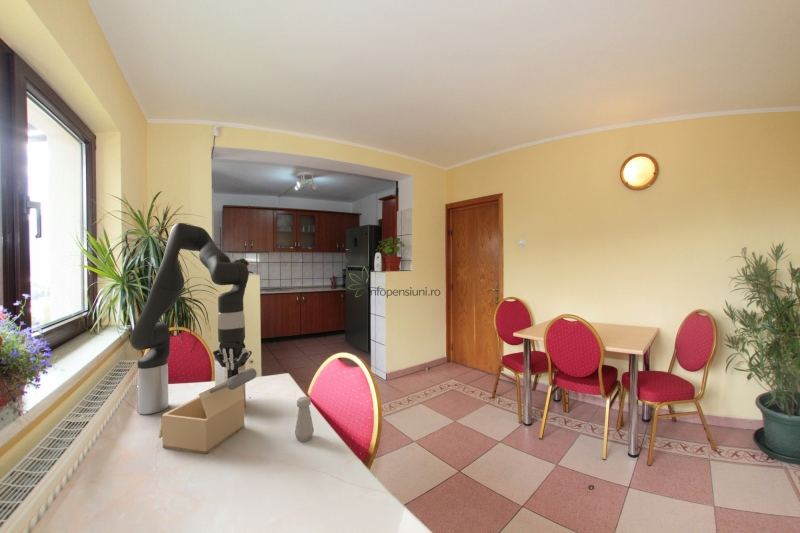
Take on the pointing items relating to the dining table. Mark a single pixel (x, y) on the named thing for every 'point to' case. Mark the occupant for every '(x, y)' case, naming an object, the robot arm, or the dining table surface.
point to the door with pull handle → (225, 393)
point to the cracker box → (222, 376)
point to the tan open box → (199, 426)
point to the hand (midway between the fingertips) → (233, 380)
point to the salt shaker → (304, 420)
